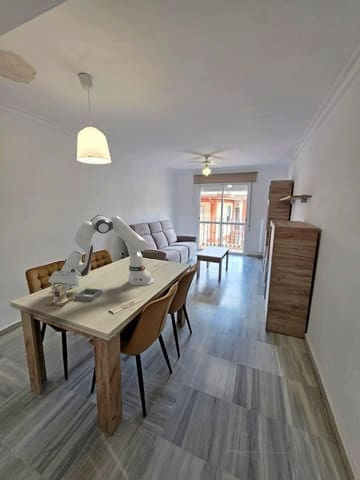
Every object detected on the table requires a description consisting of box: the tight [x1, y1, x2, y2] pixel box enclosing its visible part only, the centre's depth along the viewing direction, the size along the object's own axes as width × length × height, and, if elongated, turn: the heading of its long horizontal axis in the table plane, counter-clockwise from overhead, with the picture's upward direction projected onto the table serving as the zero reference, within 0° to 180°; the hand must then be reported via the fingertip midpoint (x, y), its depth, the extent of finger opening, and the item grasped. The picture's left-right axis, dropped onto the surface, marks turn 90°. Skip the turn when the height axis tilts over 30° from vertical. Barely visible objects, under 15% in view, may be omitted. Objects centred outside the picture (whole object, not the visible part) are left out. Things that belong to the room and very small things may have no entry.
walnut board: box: [44, 296, 75, 307], centre depth 136 cm, size 12×12×1 cm
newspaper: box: [108, 297, 143, 315], centre depth 133 cm, size 24×7×2 cm, turn 144°
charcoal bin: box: [74, 287, 103, 302], centre depth 144 cm, size 13×13×3 cm
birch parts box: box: [52, 284, 67, 302], centre depth 135 cm, size 5×5×10 cm
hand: (58, 290), depth 134 cm, fingers open, 8 cm apart
